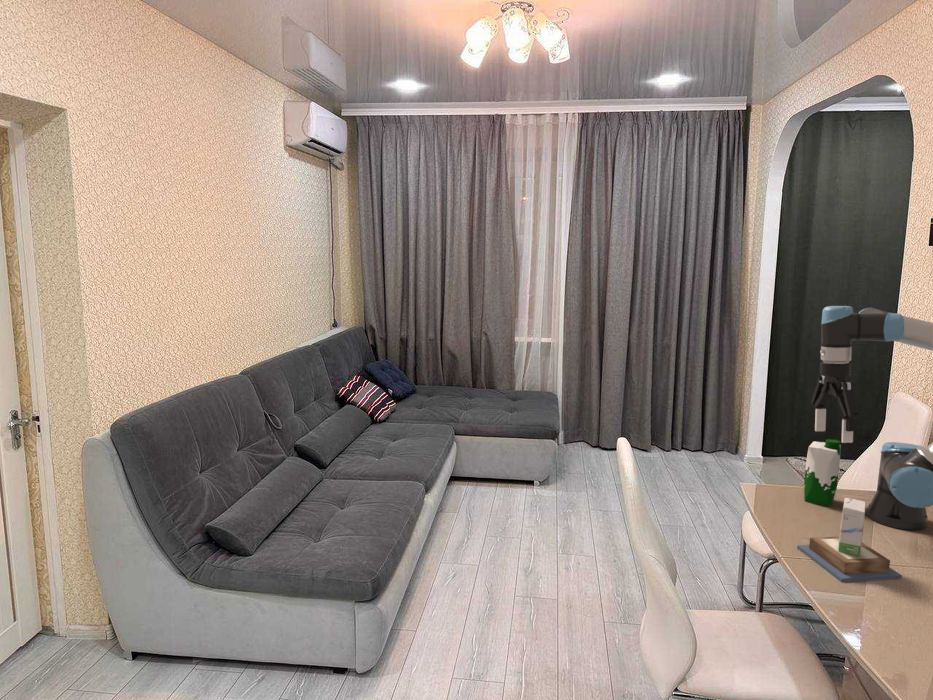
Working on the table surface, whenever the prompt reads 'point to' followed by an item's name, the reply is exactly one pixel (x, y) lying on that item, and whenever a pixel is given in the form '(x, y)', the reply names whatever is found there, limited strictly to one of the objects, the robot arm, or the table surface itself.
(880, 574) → the board
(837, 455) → the milk carton
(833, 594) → the table surface
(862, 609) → the table surface
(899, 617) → the table surface
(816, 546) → the walnut plinth
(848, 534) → the ink box
